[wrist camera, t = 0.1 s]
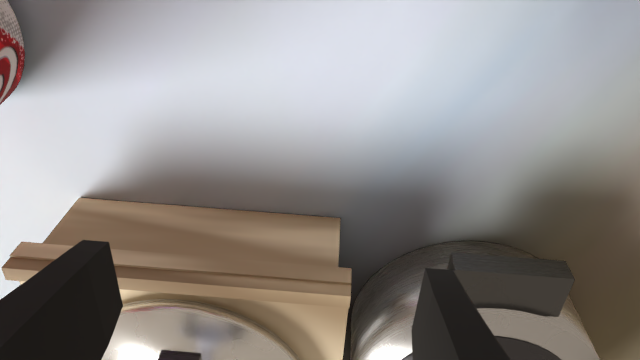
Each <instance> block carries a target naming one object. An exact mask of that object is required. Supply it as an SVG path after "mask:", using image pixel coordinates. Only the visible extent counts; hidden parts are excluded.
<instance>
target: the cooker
mask: <svg viewBox="0 0 640 360" xmlns="http://www.w3.org/2000/svg"><path fill="white" fill-rule="evenodd" d="M425 268H433V269H445V270H453V271H454V273H455V274H456V275H457V277H458V279H459V280H460V282H461V284H462V285H463V287H464V289H465V291H466V292H467V294H468V296H469V297H470V299H471V300H472V302H473V304H474V305H475V307H476V308H477V310H478V312H479V313H480V315H481V316H482V318H483V319H484V321H485V323H486V324H487V326H488V327H489V329H490V330H491V332H492V333H493V334H494V336H495V337H496V339H497V340H498V342H499V343H500V344H501V346H502V347H503V349H504V350H505V352H506V353H507V355H508V356H509V357H510V359H511V360H600V359H599V357H598V355H597V353H596V351H595V348H594V346H593V344H592V342H591V340H590V338H589V336H588V334H587V332H586V330H585V327H584V325H583V323H582V321H581V319H580V317H579V315H578V313H577V311H576V309H575V307H574V304H573V302H572V300H571V298H570V296H569V292H570V290H571V287H572V285H573V283H574V280H575V279H574V277H573V275H572V273H571V271H570V269H569V267H568V265H567V263H566V261H557V260H545V259H538V258H536V257H534V256H532V255H530V254H528V253H526V252H524V251H521V250H518V249H516V248H513V247H509V246H505V245H501V244H497V243H489V242H482V241H459V242H448V243H442V244H436V245H432V246H428V247H424V248H421V249H418V250H415V251H413V252H410V253H408V254H405V255H403V256H401V257H399V258H397V259H395V260H393V261H392V262H390V263H389V264H387V265H386V266H384V267H383V268H381V269H380V270H379V271H378V272H377V273H376V274H374V275H373V276H372V277H371V278H370V279H369V280H368V282H367V283H366V284H365V285H364V286H363V288H362V289H361V291H360V293H359V294H358V296H357V298H356V301H355V303H354V305H353V310H352V314H351V360H413V355H412V332H411V330H412V325H413V321H414V316H415V312H416V307H417V303H418V298H419V293H420V289H421V284H422V280H423V275H424V271H425Z"/></svg>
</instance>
